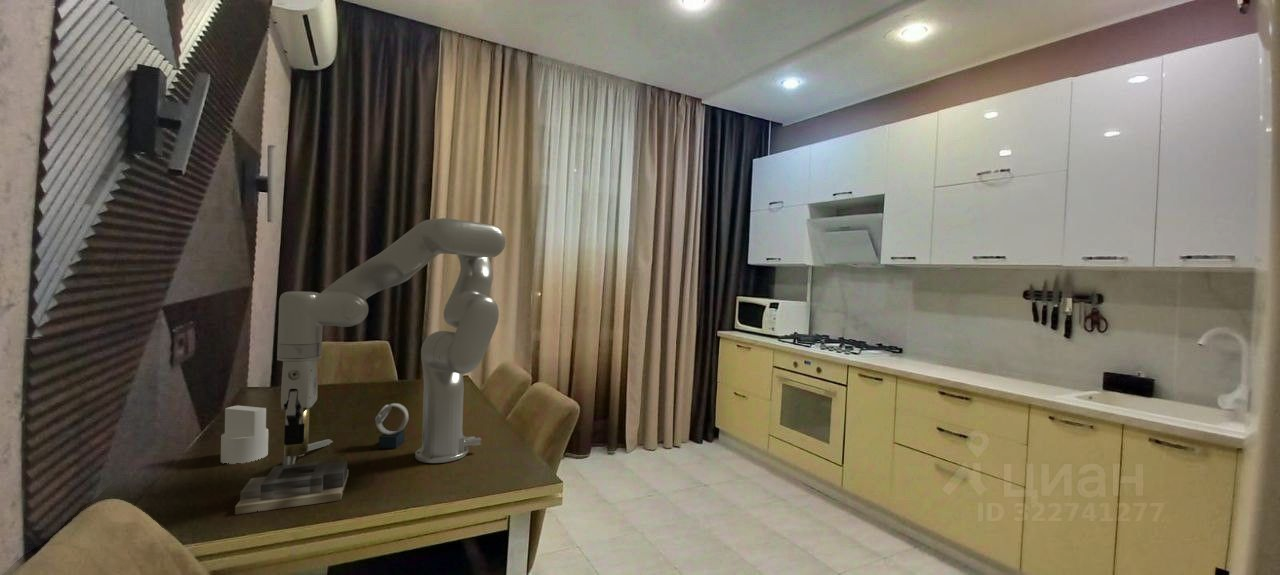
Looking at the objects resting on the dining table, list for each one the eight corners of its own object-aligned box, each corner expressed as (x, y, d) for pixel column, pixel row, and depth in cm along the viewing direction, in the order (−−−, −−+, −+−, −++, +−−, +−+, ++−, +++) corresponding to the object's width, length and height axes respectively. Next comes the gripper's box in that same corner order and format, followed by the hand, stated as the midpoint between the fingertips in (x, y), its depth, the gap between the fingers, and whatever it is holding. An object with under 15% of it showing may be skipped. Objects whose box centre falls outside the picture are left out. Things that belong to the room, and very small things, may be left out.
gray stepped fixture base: (348, 475, 111) (348, 456, 111) (340, 500, 99) (341, 478, 99) (255, 487, 103) (255, 465, 103) (235, 514, 92) (235, 490, 92)
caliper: (287, 472, 112) (288, 445, 112) (282, 472, 112) (283, 445, 112) (333, 443, 132) (333, 419, 132) (328, 443, 132) (329, 419, 132)
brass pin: (309, 448, 103) (311, 401, 103) (305, 455, 100) (307, 406, 100) (286, 450, 102) (288, 402, 102) (281, 457, 98) (283, 407, 98)
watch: (380, 441, 134) (381, 401, 134) (410, 441, 134) (411, 401, 134) (370, 448, 128) (371, 406, 128) (402, 448, 129) (403, 407, 129)
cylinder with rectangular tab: (277, 452, 123) (278, 405, 123) (242, 465, 114) (243, 414, 114) (247, 449, 125) (248, 402, 125) (210, 462, 116) (211, 411, 116)
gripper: (314, 357, 95) (310, 451, 95) (327, 346, 110) (324, 427, 110) (266, 358, 91) (262, 456, 92) (287, 346, 107) (284, 430, 107)
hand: (296, 439), depth 101 cm, fingers closed on brass pin, 4 cm apart
